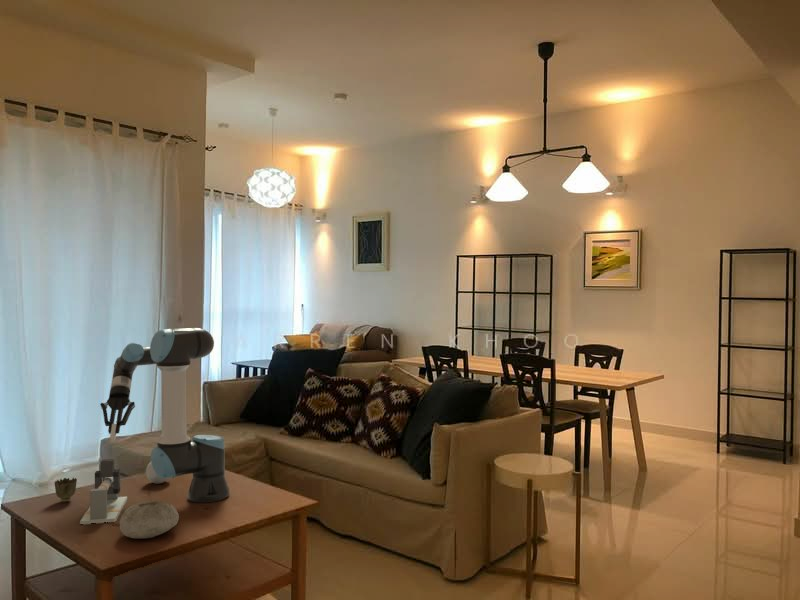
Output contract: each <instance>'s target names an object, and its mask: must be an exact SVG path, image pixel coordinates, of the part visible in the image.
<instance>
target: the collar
mask: <svg viewBox="0 0 800 600" xmlns="http://www.w3.org/2000/svg"><path fill="white" fill-rule="evenodd" d="M105 477H113V487H109V489H108V491H107V494H118V495H119V494H120V492H121V469H115V458H108V459H107V458H105V459H102V460H101V461H100V470H95V472H94V489H98V487H99V486H100V485H101V484H102V482H103V478H105Z"/></svg>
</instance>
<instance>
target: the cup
mask: <svg viewBox="0 0 800 600" xmlns="http://www.w3.org/2000/svg"><path fill="white" fill-rule="evenodd" d="M77 481H78V480H77V478H76V477H75V478H74V477H72V479H70V478H69V477H64V478H63V479H62V478H60V479H57V480H55V481H54V482H53V483H54V489H55V495H56V496H57V497H58V498H59V500H60V502H61V503H64V504H65V503H69V502H71V501H72V497H73V496H74V495H75V493H76V490H77Z"/></svg>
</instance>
